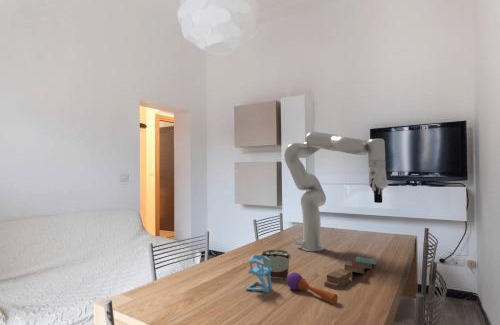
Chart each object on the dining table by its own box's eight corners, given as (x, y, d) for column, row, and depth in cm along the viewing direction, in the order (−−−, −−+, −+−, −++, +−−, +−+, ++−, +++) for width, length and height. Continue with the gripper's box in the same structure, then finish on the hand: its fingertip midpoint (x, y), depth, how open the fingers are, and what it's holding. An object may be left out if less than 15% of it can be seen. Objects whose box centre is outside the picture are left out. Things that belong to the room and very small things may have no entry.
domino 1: (351, 276, 115) (338, 283, 108) (340, 273, 118) (326, 280, 111) (351, 271, 115) (338, 278, 108) (339, 268, 118) (326, 274, 111)
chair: (265, 295, 103) (264, 260, 103) (245, 290, 107) (245, 257, 108) (275, 287, 110) (274, 255, 110) (256, 283, 114) (255, 252, 114)
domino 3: (364, 273, 121) (357, 272, 114) (351, 271, 124) (344, 269, 117) (364, 268, 122) (357, 266, 114) (352, 266, 125) (344, 264, 117)
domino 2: (349, 283, 113) (336, 291, 106) (337, 279, 117) (324, 287, 110) (349, 277, 113) (336, 285, 106) (337, 274, 117) (324, 282, 110)
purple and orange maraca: (328, 295, 93) (282, 274, 108) (330, 312, 94) (284, 289, 109) (339, 286, 96) (293, 267, 112) (340, 303, 97) (295, 282, 113)
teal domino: (375, 264, 132) (367, 263, 125) (364, 262, 136) (355, 261, 129) (375, 260, 133) (367, 258, 126) (364, 258, 136) (356, 256, 129)
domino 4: (371, 268, 127) (363, 268, 120) (359, 266, 131) (351, 266, 123) (371, 263, 128) (364, 263, 121) (360, 261, 131) (351, 261, 124)
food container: (294, 274, 123) (293, 250, 123) (291, 279, 117) (290, 254, 118) (265, 271, 127) (265, 248, 128) (261, 276, 121) (261, 252, 122)
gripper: (378, 164, 133) (379, 204, 133) (390, 164, 144) (392, 201, 143) (362, 164, 139) (363, 203, 138) (375, 164, 149) (376, 200, 149)
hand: (378, 202), depth 141 cm, fingers closed
